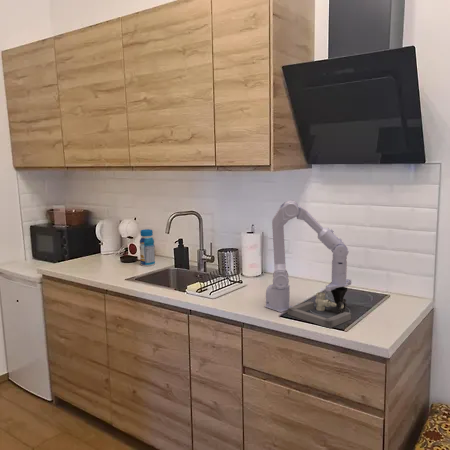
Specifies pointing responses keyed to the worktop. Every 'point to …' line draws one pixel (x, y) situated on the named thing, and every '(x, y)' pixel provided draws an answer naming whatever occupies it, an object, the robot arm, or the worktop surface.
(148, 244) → the beverage bottle
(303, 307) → the chassis bay
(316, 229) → the robot arm
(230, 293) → the worktop surface
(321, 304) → the valve
